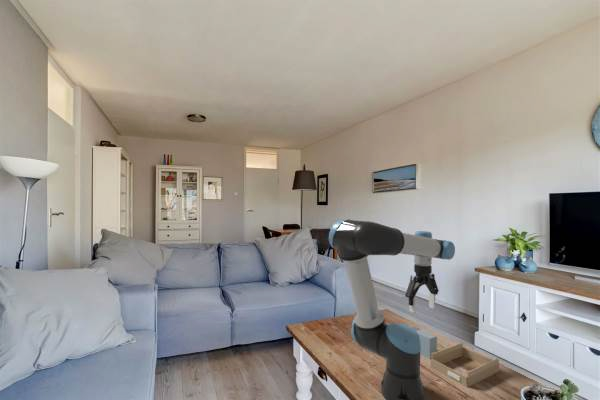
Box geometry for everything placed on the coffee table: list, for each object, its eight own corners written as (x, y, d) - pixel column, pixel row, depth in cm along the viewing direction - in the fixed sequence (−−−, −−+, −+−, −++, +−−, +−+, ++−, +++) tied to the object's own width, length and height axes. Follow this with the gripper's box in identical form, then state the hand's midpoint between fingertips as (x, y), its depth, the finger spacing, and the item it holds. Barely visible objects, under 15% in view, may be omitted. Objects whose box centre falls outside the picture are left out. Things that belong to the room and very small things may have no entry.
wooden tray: (466, 388, 113) (466, 372, 113) (430, 368, 127) (430, 354, 127) (499, 372, 124) (499, 358, 124) (462, 355, 138) (462, 342, 138)
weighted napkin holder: (429, 359, 134) (429, 338, 134) (407, 347, 145) (408, 328, 145) (436, 356, 137) (436, 336, 137) (415, 345, 147) (415, 326, 147)
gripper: (410, 268, 131) (410, 317, 131) (447, 263, 144) (446, 308, 143) (397, 265, 138) (396, 311, 138) (433, 260, 150) (432, 303, 150)
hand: (422, 310), depth 141 cm, fingers open, 13 cm apart
